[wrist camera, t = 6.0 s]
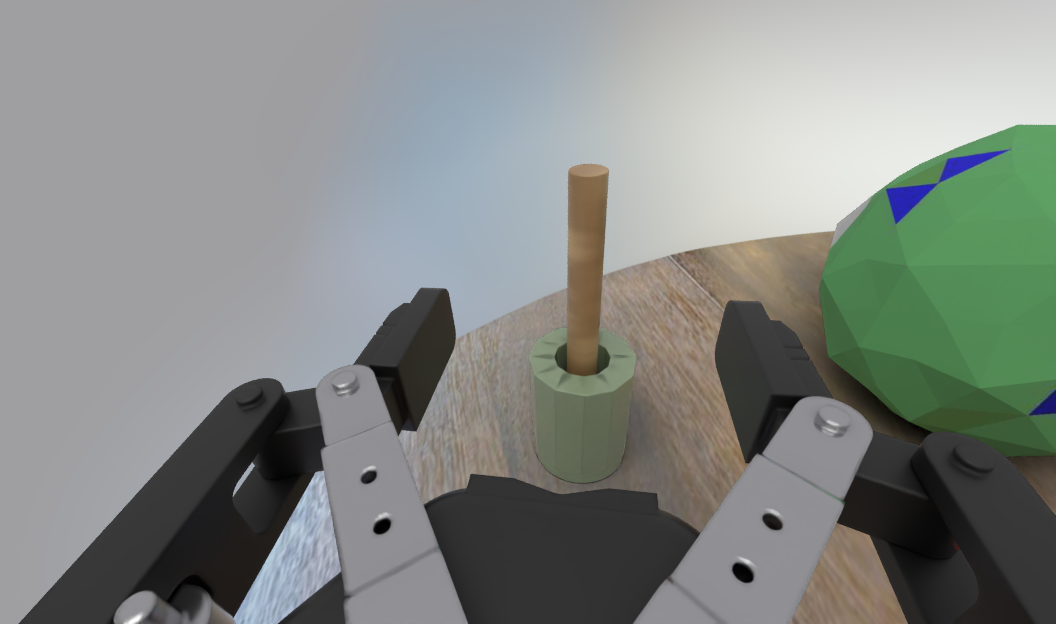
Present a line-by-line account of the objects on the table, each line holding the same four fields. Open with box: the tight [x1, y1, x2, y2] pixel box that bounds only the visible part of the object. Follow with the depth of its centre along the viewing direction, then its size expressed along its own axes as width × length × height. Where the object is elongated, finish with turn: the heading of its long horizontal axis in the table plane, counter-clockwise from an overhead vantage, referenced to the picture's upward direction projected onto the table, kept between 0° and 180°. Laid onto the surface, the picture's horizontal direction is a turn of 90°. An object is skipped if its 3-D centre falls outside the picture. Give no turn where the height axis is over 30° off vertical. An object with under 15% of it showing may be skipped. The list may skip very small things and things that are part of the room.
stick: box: [567, 164, 609, 376], centre depth 24 cm, size 2×2×18 cm
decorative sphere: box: [819, 125, 1056, 457], centre depth 26 cm, size 19×20×20 cm
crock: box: [529, 327, 637, 483], centre depth 28 cm, size 6×6×8 cm
